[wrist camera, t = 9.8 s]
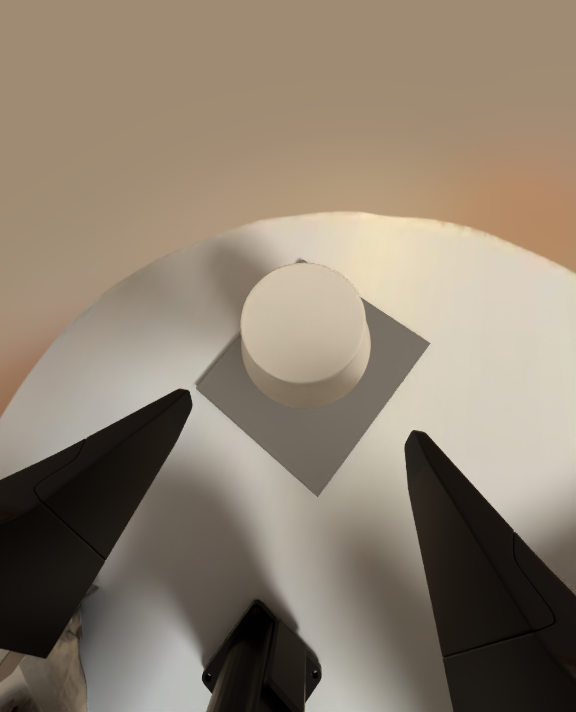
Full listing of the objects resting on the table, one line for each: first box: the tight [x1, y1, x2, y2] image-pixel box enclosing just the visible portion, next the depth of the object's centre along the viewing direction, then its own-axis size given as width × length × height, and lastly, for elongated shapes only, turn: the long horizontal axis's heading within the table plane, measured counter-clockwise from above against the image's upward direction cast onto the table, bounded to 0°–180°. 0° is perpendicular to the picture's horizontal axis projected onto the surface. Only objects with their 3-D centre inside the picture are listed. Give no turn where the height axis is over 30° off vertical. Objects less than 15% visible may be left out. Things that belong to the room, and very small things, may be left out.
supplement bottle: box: [240, 263, 371, 409], centre depth 15 cm, size 7×7×13 cm
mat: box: [196, 260, 430, 497], centre depth 22 cm, size 16×14×1 cm
